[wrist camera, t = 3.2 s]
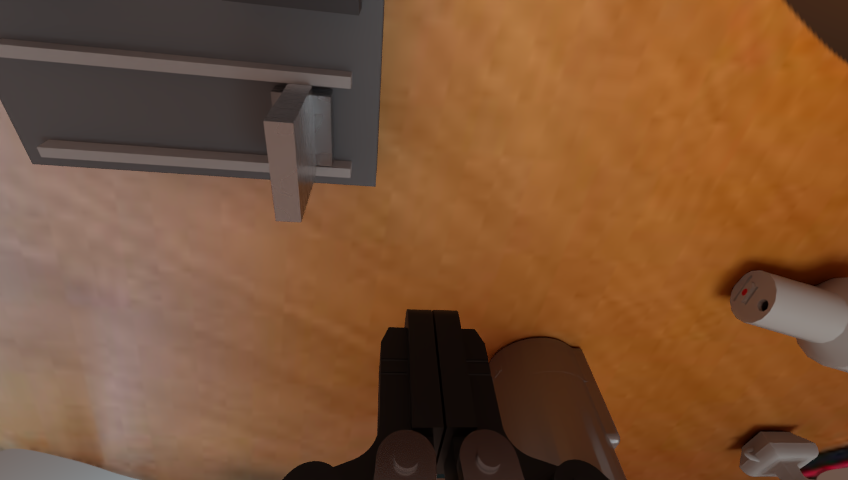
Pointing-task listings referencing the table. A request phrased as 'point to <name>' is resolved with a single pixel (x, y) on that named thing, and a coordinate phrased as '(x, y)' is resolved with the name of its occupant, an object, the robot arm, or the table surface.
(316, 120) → the metal slider handle
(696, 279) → the table surface
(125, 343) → the table surface
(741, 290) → the spotlight
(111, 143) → the control panel
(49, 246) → the table surface
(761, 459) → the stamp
